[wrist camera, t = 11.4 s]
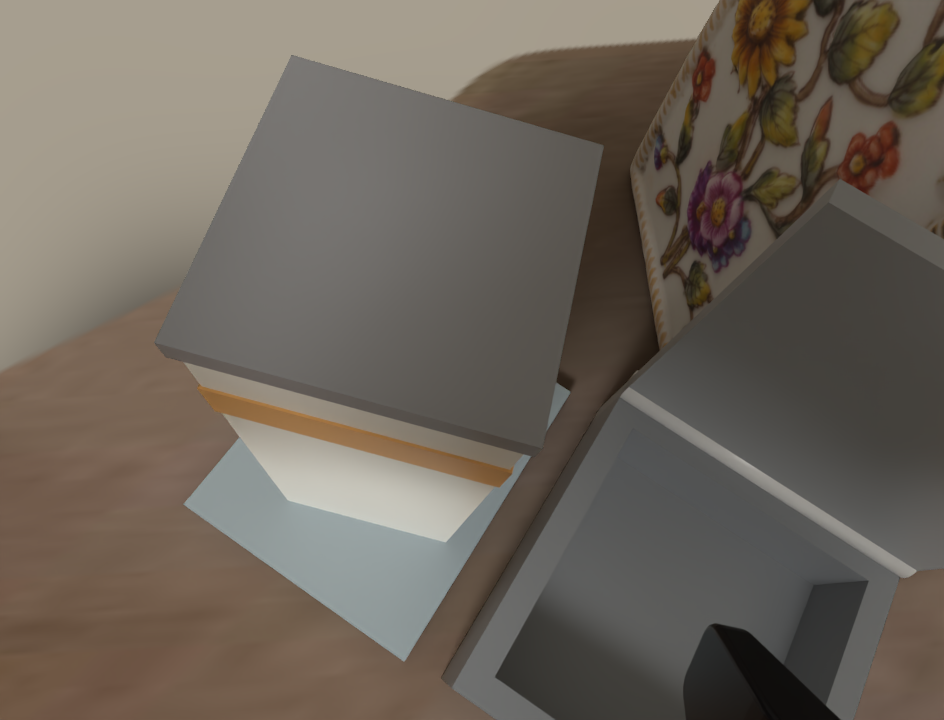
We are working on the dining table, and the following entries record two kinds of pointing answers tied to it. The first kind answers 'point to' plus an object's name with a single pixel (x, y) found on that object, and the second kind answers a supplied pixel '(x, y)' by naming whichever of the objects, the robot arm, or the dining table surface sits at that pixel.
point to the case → (740, 487)
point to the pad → (346, 547)
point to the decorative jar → (785, 135)
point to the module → (387, 296)
